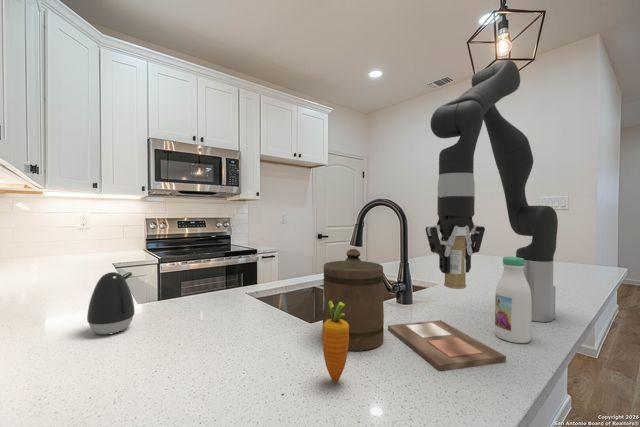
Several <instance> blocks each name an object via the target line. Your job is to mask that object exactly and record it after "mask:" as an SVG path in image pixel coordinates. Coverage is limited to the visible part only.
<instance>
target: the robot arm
mask: <svg viewBox="0 0 640 427" xmlns="http://www.w3.org/2000/svg"><path fill="white" fill-rule="evenodd" d="M520 84H521V74H520V70H519V68H518V65H517V64H516V63H515V62H514V61H513V60H509V59H505V60H502V61H499V62H497V63H494V64H493V65H490V66H488V67H486V68H483V69H482V70H478V71H477V72H476V73H474V74H473V75H472V77H471V87H470V88H468V90H466V91H464V93H462V94H461V95H460V96H459V97H458V98H456V99H453V100H451V101H449V102H446V103H445V104H444V103H443V105H441V106H439V107H437V109H436V110H434V112H433V113H432V116H431V119H430V130H431V132H432V134H433V135H435V137H436V138H439V139H451V138H457V137H459V138H458V140H457V141H456V143H454V144H453V145H451V146H448V147H446V148H443V149H442V150H441V151H440V152H439V156H438V181H437V198H436V199H437V200H436V201H437V203H436V204H437V211H436V212H437V216H438V217H437V218H438V220H437V223H436V224H435V225H432V226H426V227H425V233H426V237H427V241H428V246H429V248H430V252H432V253H433V254H437V255H438V257H439V258H438V260H439V263H438V264H439V265H438V267H439V270H440V272H441V273H442V274H444V275H445V274H449V273H450V257H448V256H449V254H450V250H451V247H452V246H453V245H454V242H455V237H456V236H455V234H456V233H457V229H458V228H459V227H464V228H465V230H466V236H465V241H466V274H467V273H469V272H470V271H471V268H472V256H473V254H476V253H479V252H480V250H481V245H482V242H483V237H484V235H485V230H486V228H485V226H481V225H479V226H478V225H476V224H474V220H473V217H474V216H475V205H476V204H475V200H476V199H475V198H476V196H475V193H476V191H475V190H476V189H475V188H476V187H475V177H474V176H475V175H474V168H475V167H474V161H475V160H474V158H475V157H474V156H475V152H476V148H477V144H478V140H479V136H480V133H481V130H482V129H483V128H482V127H483V122H484V126H485V128H486V131H487V134H488V137H489V142H490V146H491V150H492V155H493V158H494V161H495V165H496V167H497V168H496V169H497V170H498V175H499V178H500V181H501V186H502V188H503V190H502V191H503V193H504V198H505V204H506V210H507V216H508V221H509V224H510V227H511V230H512V231H513V232H514V233H515V234H516V235H519V236H525V237H532V238H531V242H530V243H529V244H528V245H525V246H523V247H519V248H517V249H516V252H515V257H519V258H523V259H524V261H525V263H524V268H523V272H524V275H525V278H526V280H527V282H528V284H529V287H530V290H531V301H532V316H531V322H532V321H533V322H540V323H548V322H552V321H553V320H555V319H556V293H557V292H556V290H557V288H556V286H555V285H554V257H555V253H556V249H557V240H558V239H557V238H558V225H559V222H558V221H559V220H558V219H559V218H558V215H557V212H556V210H555V208H553V207H551V206H549V205H529V204H528V200H527V196H526V186H527V182H528V180H529V177H530V174H531V172H532V169H533V166H534V156H533V153H532V148H531V145H530V142H529V139H528V137H527V136H526V134H525V133H523V131H521V130H520V129H519V128H517V127H516V126H515V125H513V124H512V123H511V122H509V121H508V120H506V119H505V118H504V116H502V114H501V113H500V111H499V109H498V108H497V106H496V103H498V102H499V101H501V100H502V99H503V98H505V97H507V96H509V95H511V94H513V93H515V92H516V91H517V90H518V89H519V87H520ZM439 235H440V236H439ZM445 240H448V241H447V242H446V241H445Z"/></svg>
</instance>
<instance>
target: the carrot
mask: <svg viewBox="0 0 640 427" xmlns="http://www.w3.org/2000/svg"><path fill="white" fill-rule="evenodd" d="M328 303H329V306H330V313H331V317H332V319H328V320H327V321H326V322H325V323H324V324H323V323H322V328H321V330H322V331H321V332H322V335H321V336H322V351H323V357H324V362H325V366H326V369H327V372H328V374H329V377H330V378H331V380H332V381H333V382H334V383H335V382H336V383H337V382H339V380H340V379H341V376H342V374H343V373H344V369H345V367H346V362H347V358H348V352H349V350H348V345H349V324H348V323H347V322H346V321H344V320H342V319H341V318H342V317H343V316H344V315H345V314H344V313H341V314H340V311H341V309H342V308H343V307H344V306H345V304H343V303H342V302H339V304H338V306H337V308H336V310H335V313H334V305H333V303H332V301H329V302H328ZM339 314H340V315H339Z"/></svg>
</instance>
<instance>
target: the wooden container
mask: <svg viewBox="0 0 640 427" xmlns="http://www.w3.org/2000/svg"><path fill="white" fill-rule="evenodd" d="M346 256H347V257H346V258H345V260H335V261H329V262H326V263H324V264H323V289H322V290H323V293H322V294H323V296H322V325H323V324H324V323H325V322H326V321H327V320H328V319H332V317H331V313H330V306H329V303H328V302H329V301H332V303H333V305H334V313H335V310H336V308H337V306H338V304H339V302H342V303H343V304H345V306H344V307H343V308H342V309H341V311H340V314H341V313H344V314H345V315H344V316H343V317H342V318H341V319H342V320H344V321H346V322H347V323H348V324H349V345H348V352H349V351H350V352H361V351H369V350H374V349H376V348H379V347H380V346H382V344H383V343H384V332H385V330H384V323H385V322H384V321H385V320H384V318H385V317H384V316H385V313H384V312H385V311H384V309H385V308H384V267H383V266H384V265H382V264H380V263H377V262H373V261H371V262H370V261H363V260H361V259H360V256H361V251H359V250H358V249H356V248H350V249H349V250H347V251H346ZM340 314H339V315H340Z"/></svg>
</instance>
